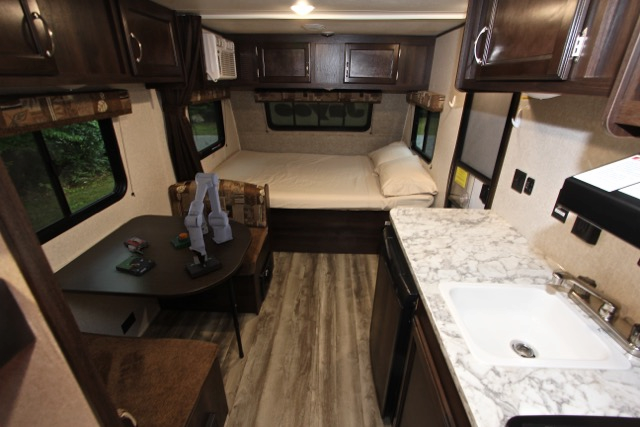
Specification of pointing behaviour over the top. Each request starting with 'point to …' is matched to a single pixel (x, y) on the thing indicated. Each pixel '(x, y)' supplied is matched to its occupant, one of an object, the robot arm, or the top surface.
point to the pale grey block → (198, 259)
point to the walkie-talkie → (135, 244)
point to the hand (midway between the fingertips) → (201, 260)
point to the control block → (181, 242)
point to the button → (183, 235)
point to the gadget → (203, 267)
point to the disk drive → (135, 265)
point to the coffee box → (204, 223)
